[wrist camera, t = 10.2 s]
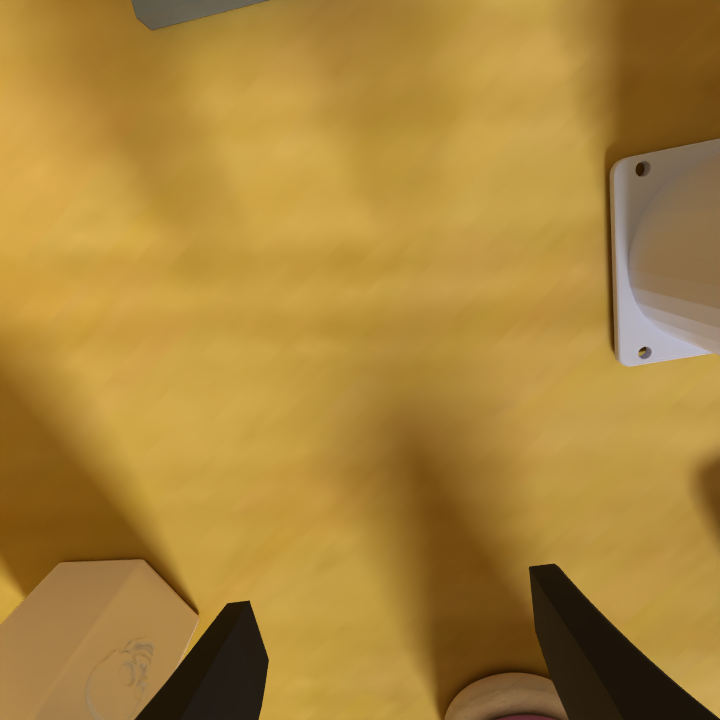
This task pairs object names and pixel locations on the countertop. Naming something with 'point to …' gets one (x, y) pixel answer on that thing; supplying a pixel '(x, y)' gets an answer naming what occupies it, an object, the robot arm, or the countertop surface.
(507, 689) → the stacking toy
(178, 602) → the jar
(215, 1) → the post board
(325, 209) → the countertop surface
